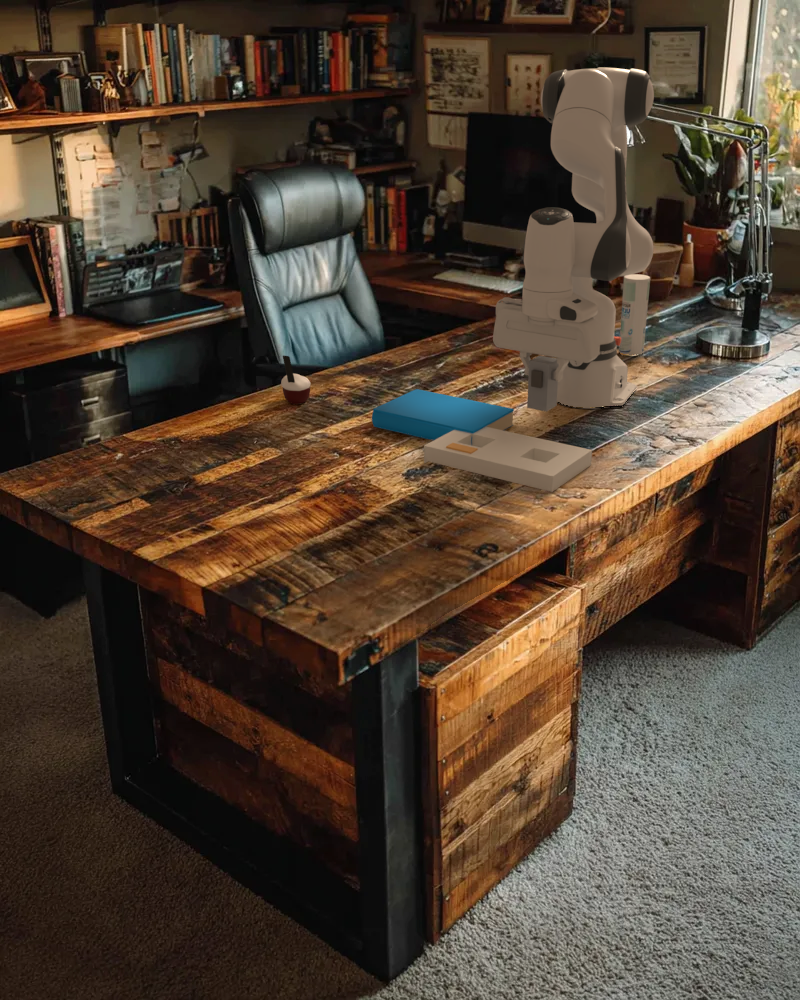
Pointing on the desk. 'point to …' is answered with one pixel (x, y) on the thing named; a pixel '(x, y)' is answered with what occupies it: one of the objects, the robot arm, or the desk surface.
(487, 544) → the desk surface
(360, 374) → the desk surface
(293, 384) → the cocoa
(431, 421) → the book
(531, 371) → the plug
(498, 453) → the socket board
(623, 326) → the spray can
